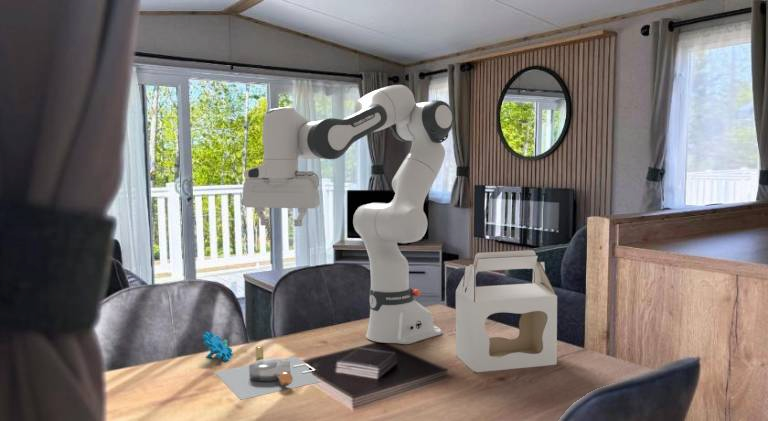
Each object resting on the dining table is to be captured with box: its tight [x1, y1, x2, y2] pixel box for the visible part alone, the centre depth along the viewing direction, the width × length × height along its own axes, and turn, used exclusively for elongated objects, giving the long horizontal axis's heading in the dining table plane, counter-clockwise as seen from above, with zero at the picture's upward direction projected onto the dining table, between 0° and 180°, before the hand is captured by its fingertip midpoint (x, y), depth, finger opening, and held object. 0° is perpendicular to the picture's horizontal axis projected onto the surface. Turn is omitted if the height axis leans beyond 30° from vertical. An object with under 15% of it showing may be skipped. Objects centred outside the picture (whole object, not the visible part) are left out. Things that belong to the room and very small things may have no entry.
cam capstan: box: [249, 345, 292, 386], centre depth 136 cm, size 10×19×5 cm, turn 32°
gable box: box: [455, 249, 558, 374], centre depth 148 cm, size 22×13×28 cm, turn 103°
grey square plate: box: [213, 356, 322, 401], centre depth 137 cm, size 21×20×1 cm
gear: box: [202, 331, 234, 362], centre depth 152 cm, size 11×6×10 cm
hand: (281, 225), depth 149 cm, fingers open, 8 cm apart
